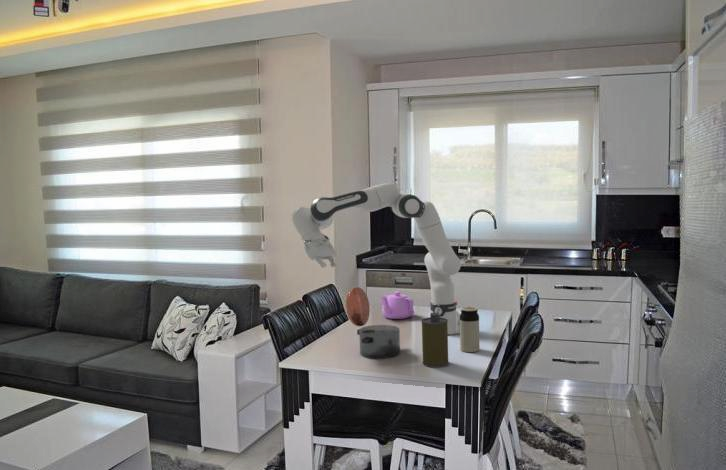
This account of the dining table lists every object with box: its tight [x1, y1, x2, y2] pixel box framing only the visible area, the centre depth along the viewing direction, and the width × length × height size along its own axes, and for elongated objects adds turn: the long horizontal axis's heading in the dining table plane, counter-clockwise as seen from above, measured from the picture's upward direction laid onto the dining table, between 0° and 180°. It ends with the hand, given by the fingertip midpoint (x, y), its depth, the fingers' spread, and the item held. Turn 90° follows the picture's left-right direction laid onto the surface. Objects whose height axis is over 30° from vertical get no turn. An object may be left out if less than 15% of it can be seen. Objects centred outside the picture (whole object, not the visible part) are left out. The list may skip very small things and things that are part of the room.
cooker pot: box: [356, 324, 401, 360], centre depth 235 cm, size 25×18×10 cm
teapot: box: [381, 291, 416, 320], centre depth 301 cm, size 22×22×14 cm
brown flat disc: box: [345, 286, 370, 327], centre depth 240 cm, size 17×17×3 cm
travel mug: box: [459, 305, 480, 353], centre depth 235 cm, size 8×8×18 cm
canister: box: [420, 313, 450, 369], centre depth 218 cm, size 11×10×20 cm
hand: (329, 266), depth 243 cm, fingers open, 8 cm apart
